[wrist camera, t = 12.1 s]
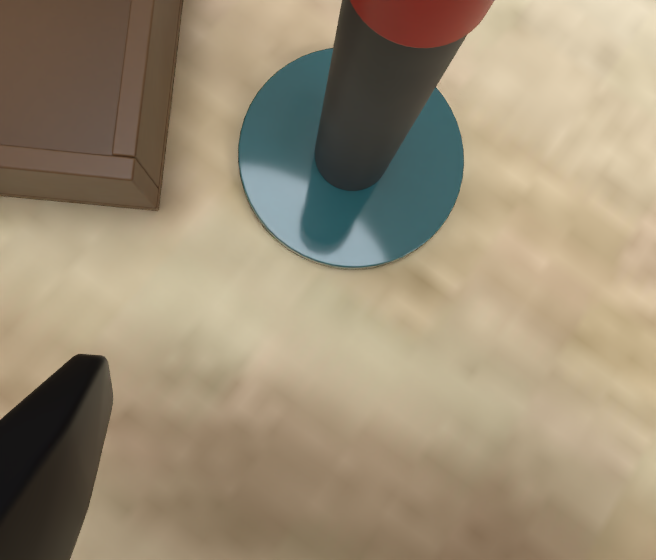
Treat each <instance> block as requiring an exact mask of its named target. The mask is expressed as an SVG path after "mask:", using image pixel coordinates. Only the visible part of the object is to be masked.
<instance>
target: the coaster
mask: <svg viewBox="0 0 656 560" xmlns="http://www.w3.org/2000/svg"><path fill="white" fill-rule="evenodd" d="M332 53H333V48H329V49H325V50H320V51H316V52H313V53H310V54H308V55H305V56H302V57H300V58H298V59H296V60H295V61H293V62H291V63H289V64H288V65H286V66H285V67H283V68H282V69H280V70H279V71H278V72H276V73H275V74H274V75H273V76H272V77H271V78H270V79H269V80H268V81H267V82H266V83H265V84H264V86H263V87H262V88H261V89H260V90H259V92H258V93H257V95H256V96H255V98H254V99H253V101H252V103H251V104H250V106H249V109H248V111H247V113H246V116H245V118H244V121H243V125H242V128H241V132H240V138H239V145H238V163H239V170H240V177H241V181H242V185H243V188H244V192H245V195H246V197H247V199H248V202H249V204H250V206H251V208H252V210H253V212H254V213H255V215H256V217H257V218H258V220H259V221H260V222H261V224H262V225H263V226H264V227H265V229H266V230H267V231H268V232H269V233H270V234H271V235H272V236H273V237H274V238H275V239H276V240H277V241H278V242H279V243H281V244H282V245H283V246H285V247H286V248H287V249H289V250H290V251H292V252H294V253H295V254H297V255H299V256H301V257H302V258H305V259H307V260H310V261H312V262H314V263H317V264H321V265H325V266H328V267H333V268H341V269H365V268H373V267H378V266H381V265H385V264H389V263H391V262H394V261H396V260H398V259H401V258H403V257H405V256H406V255H408V254H410V253H412V252H413V251H415V250H416V249H418V248H419V247H420V246H422V245H423V244H424V243H425V242H427V241H428V240H429V239H430V238H431V237H432V236H433V235H434V234H435V233H436V232H437V231H438V230H439V229H440V227H441V226H442V225H443V223H444V222H445V220H446V219H447V218H448V216H449V214H450V212H451V210H452V209H453V207H454V205H455V202H456V199H457V197H458V194H459V191H460V187H461V183H462V178H463V168H464V153H463V144H462V139H461V134H460V131H459V127H458V124H457V121H456V119H455V117H454V115H453V112H452V110H451V108H450V107H449V105H448V103H447V102H446V100H445V98H444V97H443V95H442V94H441V93H440V92H439V90H438V89H437V88H436V87H435V89H434V91H433V92H432V94H431V96H430V97H429V99H428V101H427V102H426V104H425V106H424V107H423V109H422V111H421V112H420V114H419V116H418V117H417V119H416V121H415V122H414V124H413V126H412V127H411V129H410V131H409V132H408V134H407V136H406V137H405V139H404V141H403V142H402V144H401V146H400V147H399V149H398V150H397V152H396V154H395V155H394V157H393V159H392V160H391V162H390V164H389V165H388V167H387V169H386V170H385V172H384V174H383V175H382V177H381V178H380V179H379V180H378V181H377V182H376V183H375V184H373V185H372V186H370V187H368V188H366V189H363V190H358V191H347V190H342V189H339V188H337V187H335V186H333V185H331V184H330V183H329V182H327V181H326V180H325V179H324V177H323V176H322V175H321V173H320V172H319V170H318V168H317V165H316V162H315V146H316V140H317V135H318V129H319V124H320V118H321V113H322V108H323V102H324V97H325V91H326V86H327V80H328V75H329V69H330V64H331V58H332Z"/></svg>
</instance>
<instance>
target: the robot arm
mask: <svg viewBox="0 0 656 560" xmlns="http://www.w3.org/2000/svg"><path fill="white" fill-rule="evenodd" d="M112 405H113V390H112V383H111V377H110V371H109V364H108V361H107V359H106V358H105V357H104V356H101V355H88V354H78V355H76V356H74V357H72V358H71V359H70V360H69V361H68V362H66V363H65V364H64V365H63V366H62V367H61V368H59V369H58V370H57V371H56V372H55V373H54V374H53V375H51V376H50V377H49V378H48V379H47V380H46V381H44V382H43V383H42V384H41V385H40V386H39V387H38V388H36V389H35V390H34V391H33V392H32V393H31V394H29V395H28V396H27V397H26V398H25V399H24V400H23V401H21V402H20V403H19V404H18V405H17V406H16V407H14V408H13V409H12V410H11V411H10V412H9V413H8V414H6V415H5V416H4V417H3V418H2V419H1V420H0V560H70V558H71V555H72V552H73V549H74V547H75V544H76V541H77V538H78V536H79V533H80V530H81V527H82V525H83V522H84V519H85V516H86V513H87V510H88V507H89V503H90V499H91V495H92V491H93V487H94V483H95V478H96V474H97V470H98V466H99V461H100V457H101V453H102V449H103V444H104V440H105V436H106V432H107V427H108V423H109V419H110V415H111V410H112Z"/></svg>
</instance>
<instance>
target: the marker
mask: <svg viewBox="0 0 656 560" xmlns="http://www.w3.org/2000/svg"><path fill="white" fill-rule="evenodd" d="M493 2H494V0H342V4H341V9H340V15H339V20H338V26H337V31H336V37H335V42H334V48H333V53H332V58H331V64H330V69H329V75H328V80H327V86H326V91H325V97H324V102H323V108H322V113H321V118H320V124H319V129H318V135H317V140H316V146H315V162H316V165H317V168H318V170H319V172H320V173H321V175H322V176H323V177H324V179H325V180H326V181H327V182H329V183H330V184H331V185H333V186H335V187H337V188H339V189H342V190H347V191H358V190H363V189H366V188H368V187H370V186H372V185H373V184H375V183H376V182H377V181H378V180H379V179H380V178H381V177H382V175H383V174H384V172H385V170H386V169H387V167H388V165H389V164H390V162H391V160H392V159H393V157H394V155H395V154H396V152H397V150H398V149H399V147H400V146H401V144H402V142H403V141H404V139H405V137H406V136H407V134H408V132H409V131H410V129H411V127H412V126H413V124H414V122H415V121H416V119H417V117H418V116H419V114H420V112H421V111H422V109H423V107H424V106H425V104H426V102H427V101H428V99H429V97H430V96H431V94H432V92H433V91H434V89H435V87H436V86H437V84H438V82H439V81H440V79H441V77H442V76H443V74H444V72H445V71H446V69H447V67H448V66H449V64H450V62H451V61H452V59H453V57H454V56H455V54H456V52H457V51H458V49H459V47H460V46H461V44H462V42H463V41H464V39H465V37H466V36H467V34H468V33H470V32H471V31H472V30H473V29H474V28H475V27H476V26H477V25H478V24H479V23H480V22H481V20H482V19H483V18H484V16H485V15H486V13H487V12H488V10H489V8H490V7H491V5H492V4H493Z"/></svg>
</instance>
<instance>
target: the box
mask: <svg viewBox="0 0 656 560" xmlns="http://www.w3.org/2000/svg"><path fill="white" fill-rule="evenodd" d="M182 4H183V0H0V196H9V197H20V198H30V199H41V200H51V201H61V202H72V203H82V204H93V205H103V206H113V207H124V208H134V209H145V210H155V211H158V210H159V203H160V194H161V185H162V177H163V168H164V159H165V151H166V142H167V133H168V125H169V116H170V108H171V99H172V90H173V82H174V73H175V64H176V56H177V47H178V38H179V30H180V21H181V12H182Z"/></svg>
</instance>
